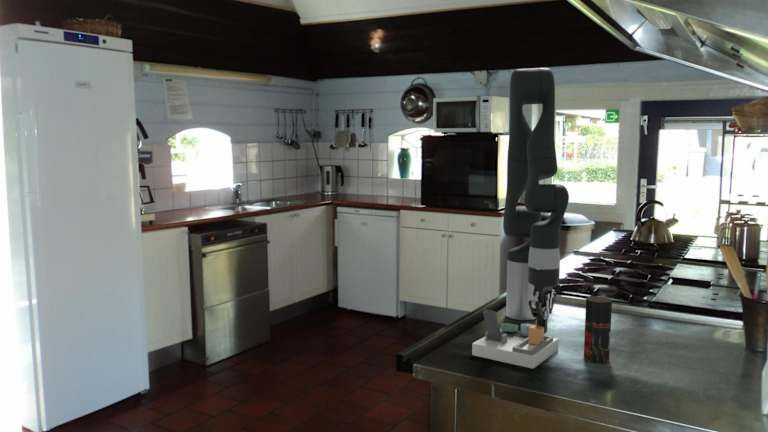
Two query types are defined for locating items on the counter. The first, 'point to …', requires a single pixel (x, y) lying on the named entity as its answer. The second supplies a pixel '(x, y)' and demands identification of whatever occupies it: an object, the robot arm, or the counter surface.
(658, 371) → the counter surface
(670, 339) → the counter surface
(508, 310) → the robot arm
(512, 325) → the block
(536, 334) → the slider knob
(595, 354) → the deodorant
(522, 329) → the push button
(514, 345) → the panel
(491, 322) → the paddle lever
